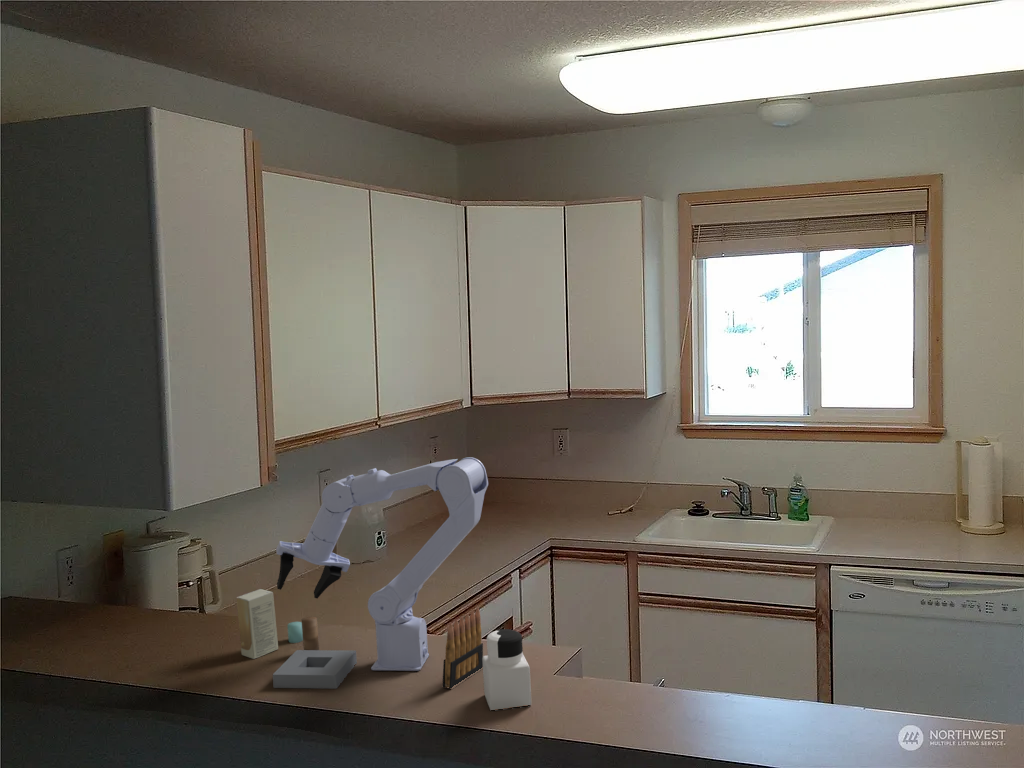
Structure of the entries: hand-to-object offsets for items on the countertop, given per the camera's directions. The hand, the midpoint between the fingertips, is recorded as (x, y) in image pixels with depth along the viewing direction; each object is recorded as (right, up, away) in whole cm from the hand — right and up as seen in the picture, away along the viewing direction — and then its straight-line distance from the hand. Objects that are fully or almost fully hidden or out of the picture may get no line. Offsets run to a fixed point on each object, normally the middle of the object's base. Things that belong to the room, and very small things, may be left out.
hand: (297, 591), depth 189 cm
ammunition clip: (+33, -13, -14) cm, 39 cm away
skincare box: (-9, -14, +4) cm, 17 cm away
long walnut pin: (+2, -13, +2) cm, 13 cm away
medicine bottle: (+42, -14, -25) cm, 50 cm away
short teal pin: (-3, -13, +10) cm, 16 cm away
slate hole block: (+6, -14, -9) cm, 18 cm away
